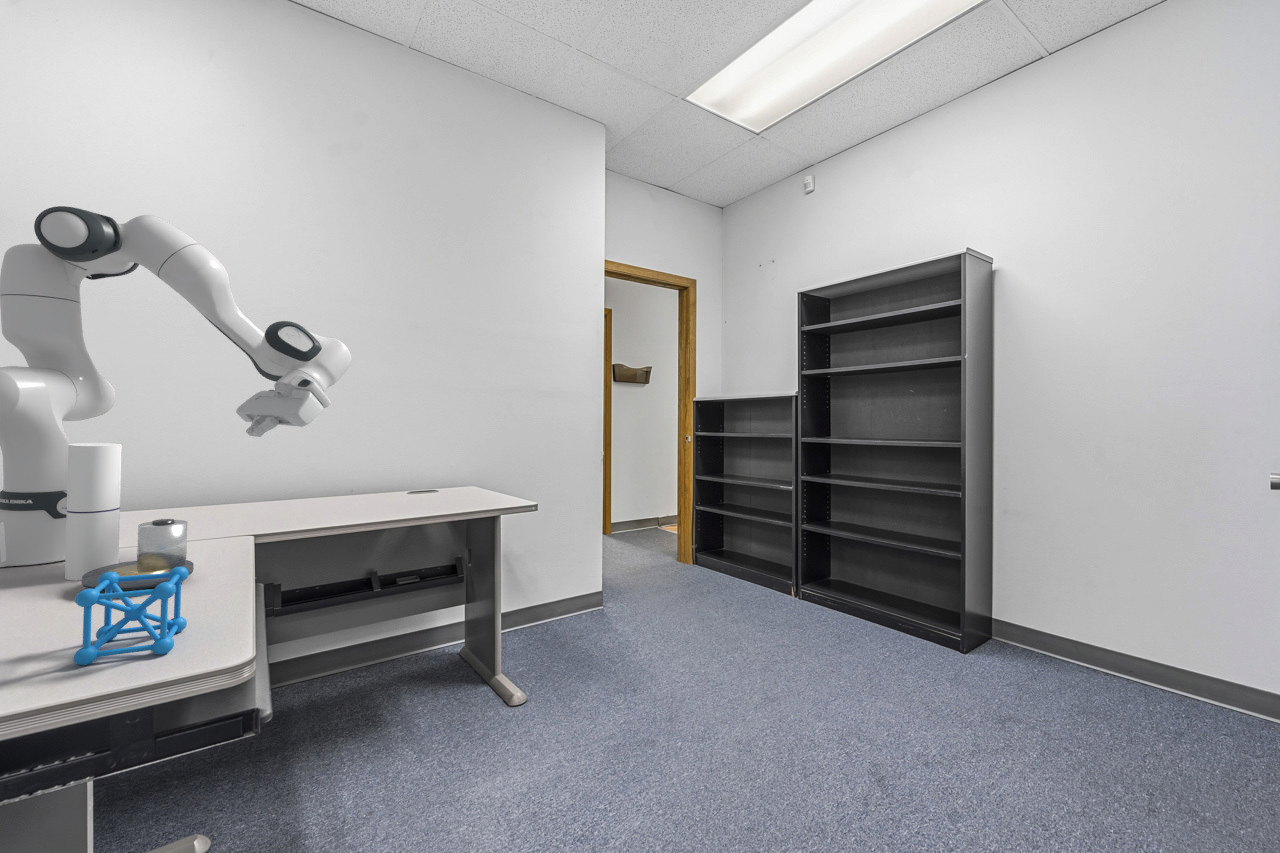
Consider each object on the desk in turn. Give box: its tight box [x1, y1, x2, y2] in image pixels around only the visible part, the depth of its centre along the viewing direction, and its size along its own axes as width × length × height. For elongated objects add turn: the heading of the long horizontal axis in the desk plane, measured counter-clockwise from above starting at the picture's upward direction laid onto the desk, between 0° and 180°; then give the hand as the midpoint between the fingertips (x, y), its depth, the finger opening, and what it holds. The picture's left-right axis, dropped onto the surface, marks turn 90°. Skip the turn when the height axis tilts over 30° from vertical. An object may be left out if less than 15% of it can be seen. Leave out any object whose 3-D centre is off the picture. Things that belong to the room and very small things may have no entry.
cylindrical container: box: [64, 442, 123, 582], centre depth 102 cm, size 7×7×25 cm
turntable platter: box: [81, 559, 195, 591], centre depth 99 cm, size 15×15×1 cm
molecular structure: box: [72, 567, 189, 666], centre depth 75 cm, size 10×10×10 cm
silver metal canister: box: [136, 518, 188, 571], centre depth 102 cm, size 7×7×9 cm
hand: (252, 434), depth 116 cm, fingers closed
